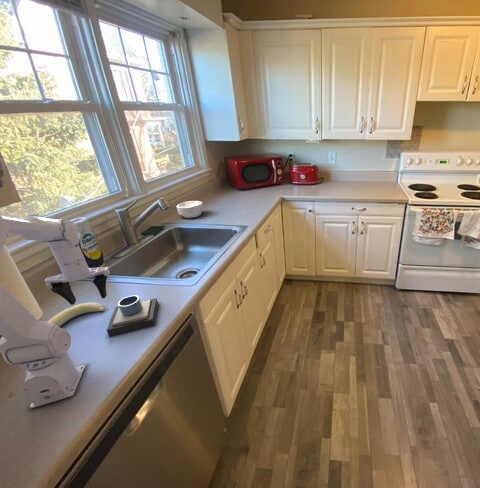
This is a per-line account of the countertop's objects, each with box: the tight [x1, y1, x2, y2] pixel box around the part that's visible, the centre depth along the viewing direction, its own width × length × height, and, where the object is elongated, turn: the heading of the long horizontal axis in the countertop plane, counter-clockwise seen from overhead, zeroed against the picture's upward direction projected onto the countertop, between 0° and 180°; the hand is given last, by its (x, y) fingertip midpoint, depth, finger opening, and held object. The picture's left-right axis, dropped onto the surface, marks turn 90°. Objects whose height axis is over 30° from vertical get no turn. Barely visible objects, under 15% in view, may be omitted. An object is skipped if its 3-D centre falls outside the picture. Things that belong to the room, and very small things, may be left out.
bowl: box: [117, 294, 142, 316], centre depth 88 cm, size 6×6×4 cm
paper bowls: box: [176, 200, 205, 219], centre depth 176 cm, size 15×15×8 cm
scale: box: [106, 297, 159, 338], centre depth 90 cm, size 12×12×2 cm
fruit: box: [47, 301, 106, 328], centre depth 90 cm, size 7×15×3 cm, turn 146°
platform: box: [113, 299, 151, 326], centre depth 89 cm, size 9×9×1 cm
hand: (89, 299), depth 84 cm, fingers open, 7 cm apart
